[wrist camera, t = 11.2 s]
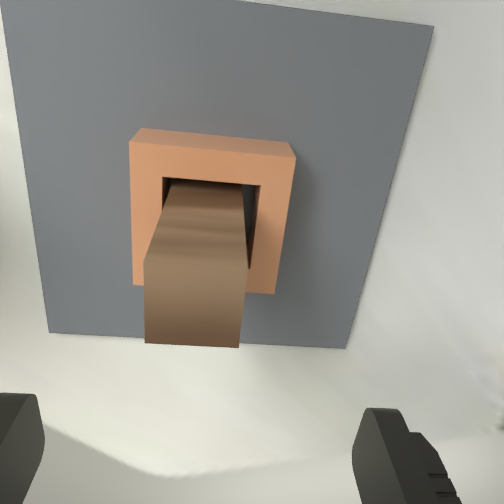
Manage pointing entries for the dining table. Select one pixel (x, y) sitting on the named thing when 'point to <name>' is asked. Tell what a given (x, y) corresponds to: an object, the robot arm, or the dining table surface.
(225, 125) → the socket holder
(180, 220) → the walnut peg
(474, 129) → the dining table surface
